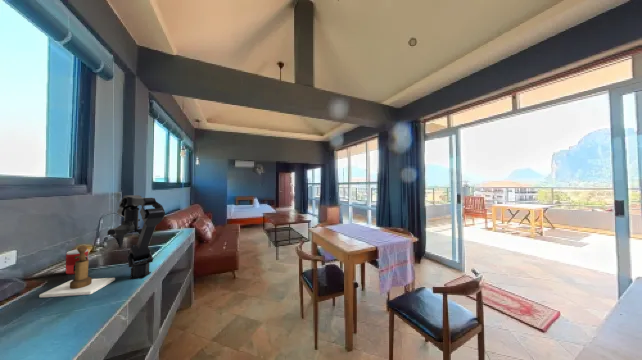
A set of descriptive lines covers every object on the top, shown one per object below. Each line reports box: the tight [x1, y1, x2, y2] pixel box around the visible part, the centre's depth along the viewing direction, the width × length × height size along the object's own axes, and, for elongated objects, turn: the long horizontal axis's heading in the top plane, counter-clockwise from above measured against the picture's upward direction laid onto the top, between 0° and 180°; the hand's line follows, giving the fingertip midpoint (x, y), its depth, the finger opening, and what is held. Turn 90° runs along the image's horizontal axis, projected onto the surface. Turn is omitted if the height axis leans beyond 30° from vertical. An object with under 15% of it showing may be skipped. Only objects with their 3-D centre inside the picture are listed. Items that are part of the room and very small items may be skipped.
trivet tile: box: [39, 277, 116, 298], centre depth 94 cm, size 18×13×1 cm
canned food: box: [65, 248, 89, 275], centre depth 110 cm, size 8×8×11 cm
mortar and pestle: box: [70, 245, 93, 289], centre depth 94 cm, size 7×6×18 cm
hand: (130, 246), depth 113 cm, fingers open, 9 cm apart
